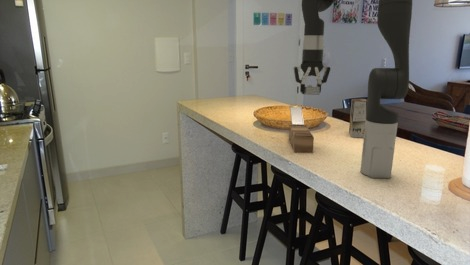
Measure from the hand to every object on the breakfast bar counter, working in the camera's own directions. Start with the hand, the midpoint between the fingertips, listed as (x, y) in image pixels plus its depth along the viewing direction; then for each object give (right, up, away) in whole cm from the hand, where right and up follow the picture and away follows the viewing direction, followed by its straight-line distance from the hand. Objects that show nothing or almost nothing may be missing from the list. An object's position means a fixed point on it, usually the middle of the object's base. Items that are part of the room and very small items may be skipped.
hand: (310, 93), depth 133 cm
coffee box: (+26, -16, +23) cm, 39 cm away
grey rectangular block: (0, 0, 0) cm, 0 cm away
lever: (-2, -12, +14) cm, 19 cm away
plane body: (-2, -20, +7) cm, 22 cm away
